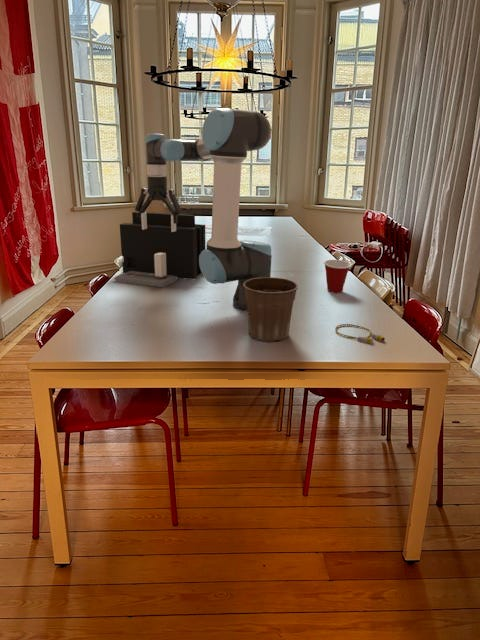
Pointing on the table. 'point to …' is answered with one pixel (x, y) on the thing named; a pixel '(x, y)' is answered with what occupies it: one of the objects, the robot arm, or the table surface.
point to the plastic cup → (336, 274)
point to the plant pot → (269, 307)
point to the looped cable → (363, 339)
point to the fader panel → (145, 279)
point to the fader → (160, 265)
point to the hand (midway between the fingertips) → (159, 230)
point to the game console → (163, 244)
